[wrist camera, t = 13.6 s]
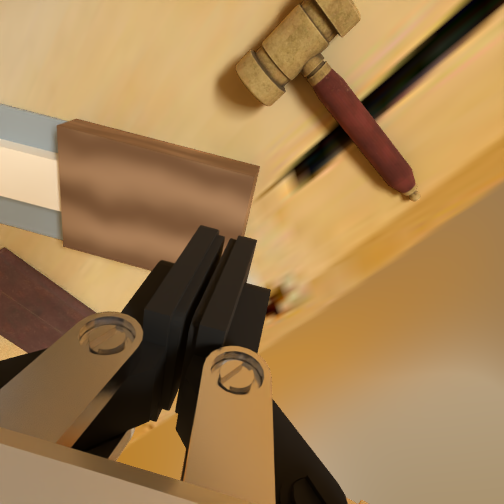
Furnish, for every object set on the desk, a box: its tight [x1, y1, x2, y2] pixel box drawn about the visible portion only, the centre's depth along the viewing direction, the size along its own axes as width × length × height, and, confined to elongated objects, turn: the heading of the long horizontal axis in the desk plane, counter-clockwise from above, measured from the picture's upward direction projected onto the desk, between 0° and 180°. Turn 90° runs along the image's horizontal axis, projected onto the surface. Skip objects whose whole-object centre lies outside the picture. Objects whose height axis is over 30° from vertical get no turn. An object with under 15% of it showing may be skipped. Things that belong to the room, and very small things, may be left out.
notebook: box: [0, 248, 96, 353], centre depth 55 cm, size 15×20×2 cm
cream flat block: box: [0, 139, 61, 211], centre depth 43 cm, size 6×9×2 cm, turn 78°
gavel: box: [236, 0, 420, 201], centre depth 34 cm, size 21×5×10 cm
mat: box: [0, 104, 68, 240], centre depth 44 cm, size 15×14×1 cm
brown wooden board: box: [57, 119, 260, 271], centre depth 42 cm, size 14×20×4 cm
